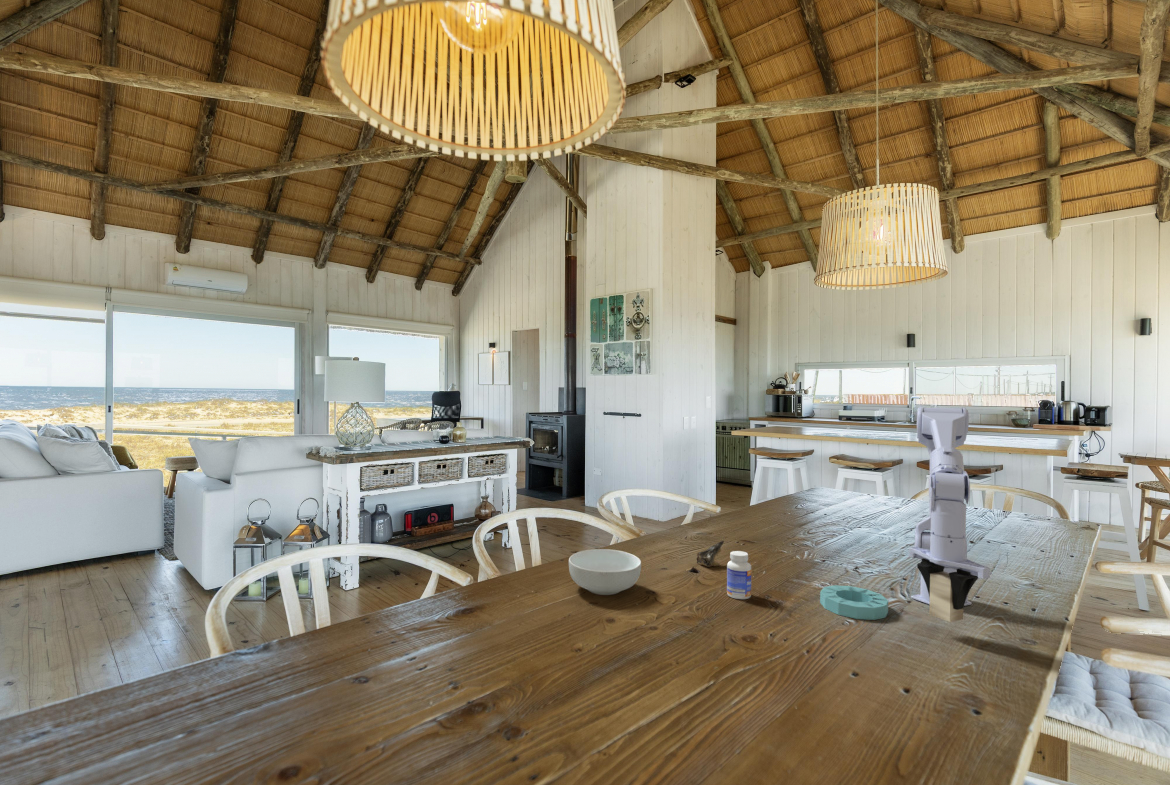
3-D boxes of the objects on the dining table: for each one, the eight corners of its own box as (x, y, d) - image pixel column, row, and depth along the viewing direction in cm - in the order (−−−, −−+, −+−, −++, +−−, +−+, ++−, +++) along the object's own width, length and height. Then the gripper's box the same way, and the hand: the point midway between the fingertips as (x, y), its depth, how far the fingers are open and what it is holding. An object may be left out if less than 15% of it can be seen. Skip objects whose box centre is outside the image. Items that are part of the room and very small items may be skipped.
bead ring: (849, 593, 131) (850, 582, 131) (901, 614, 119) (901, 602, 119) (808, 601, 126) (808, 589, 126) (857, 623, 114) (857, 611, 114)
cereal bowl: (556, 595, 127) (556, 564, 126) (584, 573, 142) (584, 545, 142) (628, 607, 120) (628, 574, 120) (648, 583, 136) (649, 554, 136)
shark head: (717, 565, 154) (717, 539, 156) (731, 568, 148) (730, 541, 150) (692, 565, 152) (692, 539, 153) (705, 568, 146) (705, 541, 147)
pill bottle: (752, 601, 125) (752, 557, 125) (727, 598, 126) (727, 555, 126) (749, 592, 130) (750, 550, 130) (726, 590, 132) (726, 549, 132)
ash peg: (942, 611, 112) (943, 571, 112) (963, 619, 108) (964, 577, 108) (929, 614, 110) (930, 573, 110) (949, 622, 106) (950, 580, 106)
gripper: (899, 527, 114) (898, 594, 114) (973, 546, 101) (972, 621, 101) (922, 524, 117) (921, 589, 117) (997, 542, 103) (996, 615, 104)
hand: (946, 604), depth 109 cm, fingers closed on ash peg, 4 cm apart
